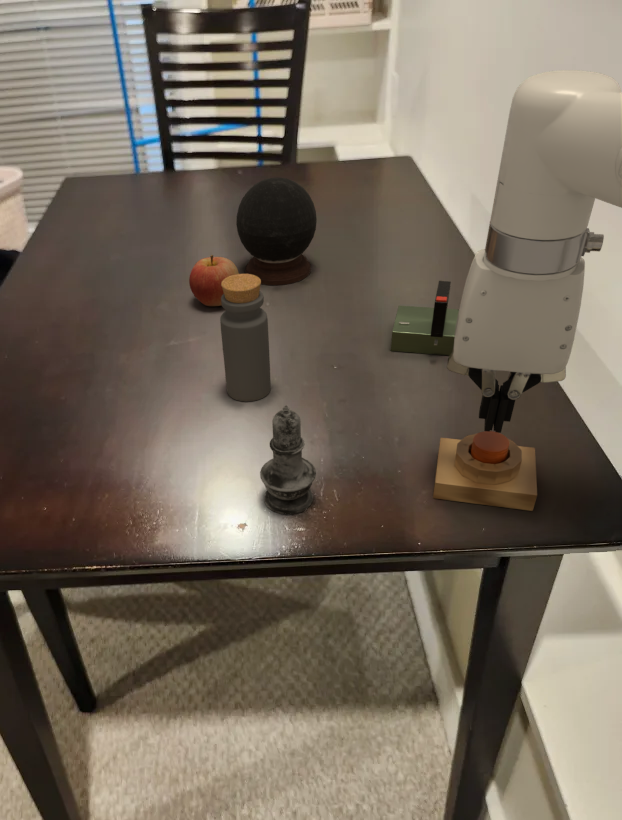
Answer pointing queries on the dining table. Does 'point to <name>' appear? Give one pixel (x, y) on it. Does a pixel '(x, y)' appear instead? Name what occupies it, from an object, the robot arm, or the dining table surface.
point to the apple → (210, 279)
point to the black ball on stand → (277, 230)
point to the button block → (485, 476)
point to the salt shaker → (287, 467)
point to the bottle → (245, 338)
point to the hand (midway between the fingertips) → (492, 423)
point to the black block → (440, 309)
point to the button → (490, 447)
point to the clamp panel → (422, 331)
